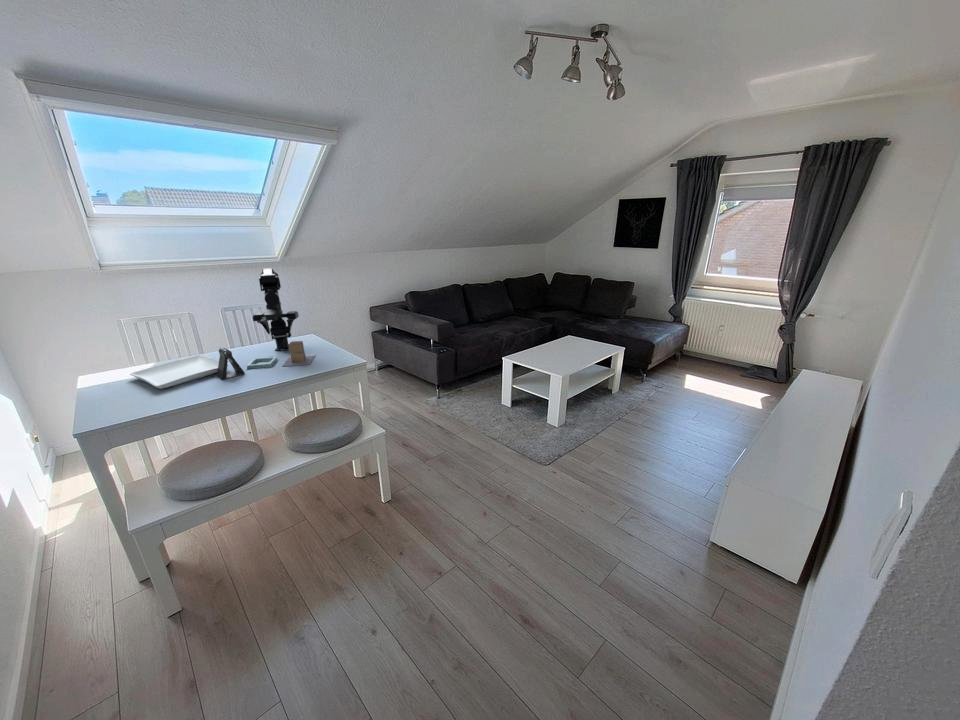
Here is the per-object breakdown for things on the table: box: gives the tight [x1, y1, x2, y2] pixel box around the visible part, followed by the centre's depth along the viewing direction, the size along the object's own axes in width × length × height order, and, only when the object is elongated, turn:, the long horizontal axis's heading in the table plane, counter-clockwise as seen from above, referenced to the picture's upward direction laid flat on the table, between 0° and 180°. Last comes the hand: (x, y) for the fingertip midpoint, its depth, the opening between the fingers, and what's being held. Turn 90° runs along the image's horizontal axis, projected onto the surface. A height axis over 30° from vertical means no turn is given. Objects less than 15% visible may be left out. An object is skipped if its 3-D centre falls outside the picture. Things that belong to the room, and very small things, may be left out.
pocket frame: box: [246, 356, 278, 370], centre depth 173 cm, size 10×10×2 cm
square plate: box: [129, 354, 230, 390], centre depth 161 cm, size 27×27×4 cm
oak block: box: [288, 340, 306, 363], centre depth 175 cm, size 5×5×9 cm
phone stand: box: [216, 347, 246, 381], centre depth 159 cm, size 9×6×12 cm, turn 141°
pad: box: [281, 355, 316, 368], centre depth 177 cm, size 12×12×1 cm
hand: (279, 333), depth 179 cm, fingers open, 9 cm apart
